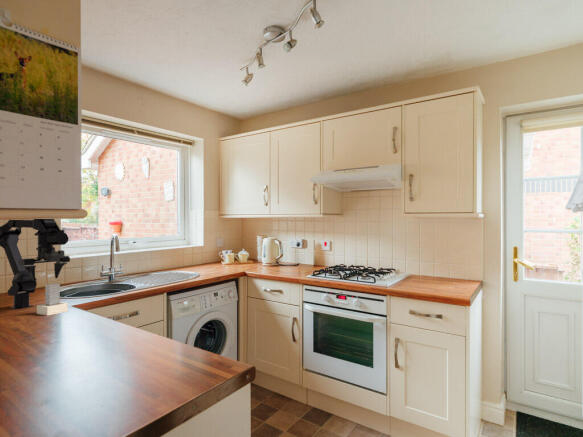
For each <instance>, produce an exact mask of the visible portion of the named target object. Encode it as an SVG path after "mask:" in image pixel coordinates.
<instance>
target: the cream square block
mask: <svg viewBox="0 0 583 437" xmlns="http://www.w3.org/2000/svg"><path fill="white" fill-rule="evenodd" d="M68 304H69V303H68V302H63V301H60V304H59V305H53V306H45V303H42V304H38V305H36V314H37V315H41V316H42V315H43V316H51V315H56V314H60V313H62V314H63V313H65V312H68V311H69V310H68V309H69V308H68V307H69V306H68Z"/></svg>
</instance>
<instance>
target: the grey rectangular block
mask: <svg viewBox="0 0 583 437" xmlns="http://www.w3.org/2000/svg"><path fill="white" fill-rule="evenodd" d="M60 286H61V283H49V284H45V293H44V294H45V295H44V296H45V302H44V304H45V306H53V305H59V304H60V302H61V301H60V297H61V296H60V291H61V290H60V288H61V287H60Z"/></svg>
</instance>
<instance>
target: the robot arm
mask: <svg viewBox="0 0 583 437" xmlns="http://www.w3.org/2000/svg"><path fill="white" fill-rule="evenodd" d="M12 228H14V229H12ZM22 228H28V229H29V228H31V229H33V230H37V231H36V232H35V233H34V236H37V247H36V251H37V256H36V257H35V258H36V259H35V258H34V257H33V258H31V257H29V258H22V254H21V253H20V250H19V247H18V243H19V240H20V238H19V236H20V235H21V234H22ZM68 241H69V236H68V234H67V233H66V232H65V230H64V229H61V228H60V227H59V225H58V224H57V222H56V220H55V219H54V218H53V219H36V218H33V219H21V220H11V219H9V220H8V221H7V222H6V223H4V224H2V225H0V247H1V248H2V249H3V250H4V253H5V255H6V258H7V260H8V263H9V266H10V269H11V271H12V274H13V277H12V279H11V284H12V285H10V287H9V289H8V290H7V294H8V296H9V297H12V296H13V306H9V309H14V310H20V309H26V308H31V307H33V306H34V305H32V304H30V294H34V293H35V292H36V288H37V285H38V284H37V278H36V268H37V266H36V265H35V264H42V263H43V264H45V263H53V267H54V278H55V279H58V277H59V275H60V273H61V271H62V269H63V267H64V266H65V265H67V264H68V263H70V262H71V257H70V256H69V255H65V250H63V249H61V250H60V249H59V250H57V251H56V247H54V246H63V245H66V244H67V243H68Z"/></svg>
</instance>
